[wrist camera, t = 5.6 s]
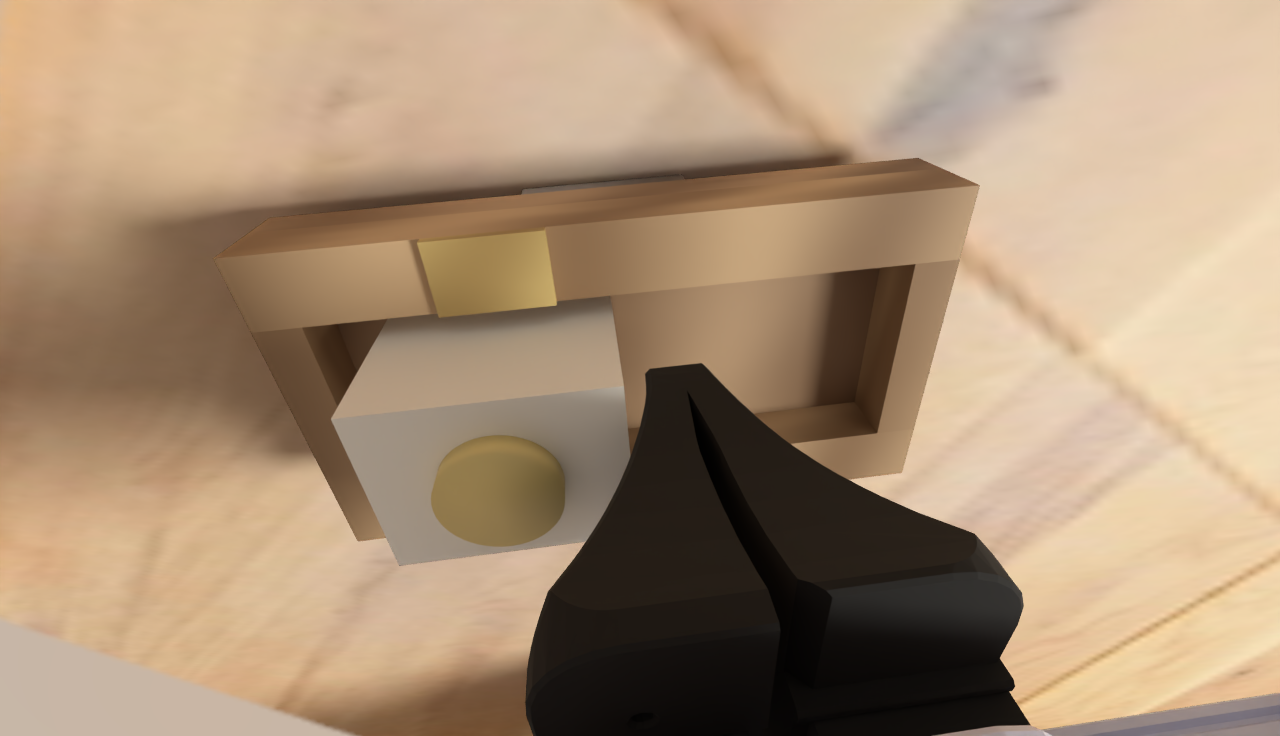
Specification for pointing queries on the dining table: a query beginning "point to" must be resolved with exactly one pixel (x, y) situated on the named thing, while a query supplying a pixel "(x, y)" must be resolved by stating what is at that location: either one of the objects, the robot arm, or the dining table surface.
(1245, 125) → the dining table surface
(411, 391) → the block
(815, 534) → the robot arm
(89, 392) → the dining table surface
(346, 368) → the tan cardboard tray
